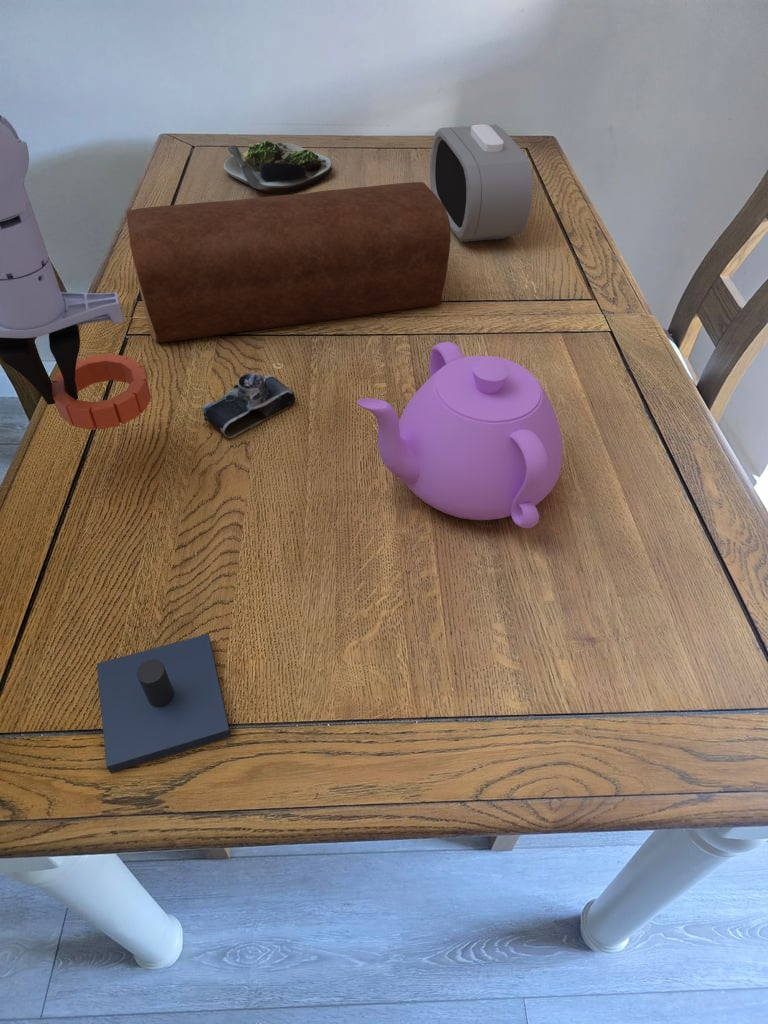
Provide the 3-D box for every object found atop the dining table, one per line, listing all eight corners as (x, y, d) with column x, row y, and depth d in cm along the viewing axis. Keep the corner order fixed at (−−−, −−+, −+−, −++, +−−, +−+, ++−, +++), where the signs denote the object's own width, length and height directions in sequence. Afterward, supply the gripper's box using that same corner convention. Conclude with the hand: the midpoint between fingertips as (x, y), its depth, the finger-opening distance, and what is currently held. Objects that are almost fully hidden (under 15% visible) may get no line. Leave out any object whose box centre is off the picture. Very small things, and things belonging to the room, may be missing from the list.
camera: (197, 420, 79) (191, 390, 76) (272, 383, 84) (269, 353, 81) (223, 443, 77) (218, 413, 74) (298, 404, 82) (296, 374, 79)
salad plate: (195, 169, 124) (190, 141, 120) (271, 142, 133) (269, 115, 130) (269, 205, 116) (266, 176, 112) (345, 173, 125) (345, 146, 121)
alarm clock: (426, 197, 120) (433, 110, 110) (479, 193, 121) (490, 107, 111) (463, 257, 106) (474, 164, 96) (522, 251, 108) (539, 160, 98)
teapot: (319, 441, 78) (314, 333, 67) (490, 395, 84) (509, 290, 74) (405, 592, 64) (414, 486, 54) (600, 523, 71) (642, 416, 61)
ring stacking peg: (110, 773, 52) (92, 744, 49) (100, 670, 58) (83, 638, 54) (231, 736, 55) (222, 706, 51) (210, 641, 60) (201, 607, 56)
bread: (446, 310, 96) (457, 213, 86) (153, 351, 88) (128, 248, 78) (410, 255, 106) (417, 162, 96) (144, 287, 97) (120, 189, 88)
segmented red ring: (61, 437, 65) (53, 417, 63) (57, 382, 70) (49, 362, 69) (155, 419, 67) (150, 399, 65) (144, 367, 73) (139, 347, 71)
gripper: (100, 227, 61) (136, 358, 71) (-85, 250, 58) (-20, 384, 68) (108, 267, 57) (145, 400, 67) (-92, 295, 53) (-21, 431, 63)
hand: (62, 395), depth 67 cm, fingers closed on segmented red ring, 1 cm apart
